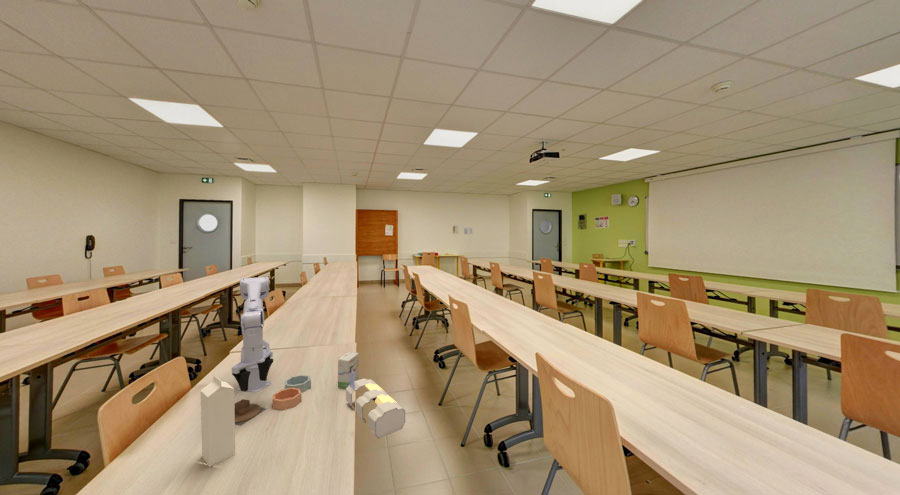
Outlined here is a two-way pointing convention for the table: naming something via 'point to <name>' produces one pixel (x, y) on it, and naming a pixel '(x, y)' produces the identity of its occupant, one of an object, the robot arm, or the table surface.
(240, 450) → the table surface
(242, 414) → the lid
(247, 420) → the mat
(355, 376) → the ink box
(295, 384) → the bowl slate
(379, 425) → the beige chunky openwork piece
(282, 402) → the bowl terracotta
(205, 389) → the milk
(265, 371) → the robot arm
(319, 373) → the table surface
